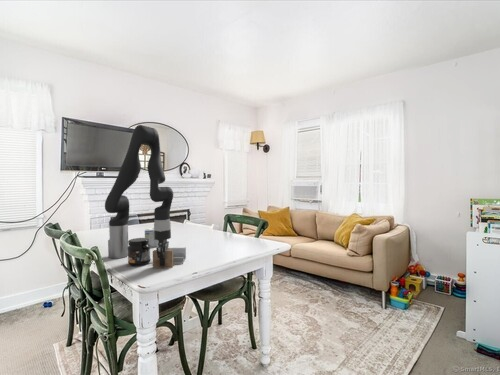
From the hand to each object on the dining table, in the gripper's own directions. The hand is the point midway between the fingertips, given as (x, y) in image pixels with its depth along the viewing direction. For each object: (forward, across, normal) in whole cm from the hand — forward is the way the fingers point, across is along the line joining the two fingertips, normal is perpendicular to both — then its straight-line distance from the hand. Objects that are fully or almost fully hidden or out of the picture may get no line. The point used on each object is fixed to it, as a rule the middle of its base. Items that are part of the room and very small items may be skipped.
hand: (163, 264), depth 131 cm
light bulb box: (+1, -44, -17) cm, 47 cm away
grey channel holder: (+1, -8, +2) cm, 8 cm away
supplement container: (+1, -7, -14) cm, 15 cm away
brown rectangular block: (+1, 0, 0) cm, 1 cm away
